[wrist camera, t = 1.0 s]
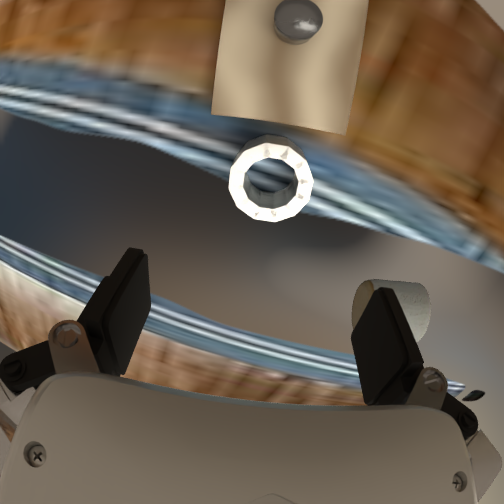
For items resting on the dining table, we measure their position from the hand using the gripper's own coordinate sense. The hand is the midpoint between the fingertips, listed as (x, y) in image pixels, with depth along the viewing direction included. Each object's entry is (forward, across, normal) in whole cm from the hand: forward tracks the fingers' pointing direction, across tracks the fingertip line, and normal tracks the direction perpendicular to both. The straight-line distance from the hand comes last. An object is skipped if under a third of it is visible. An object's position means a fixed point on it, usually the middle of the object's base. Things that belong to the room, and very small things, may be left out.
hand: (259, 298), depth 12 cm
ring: (+19, -1, +1) cm, 19 cm away
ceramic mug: (+19, -18, +14) cm, 30 cm away
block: (+19, 0, -13) cm, 23 cm away
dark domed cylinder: (+17, 0, -13) cm, 22 cm away
